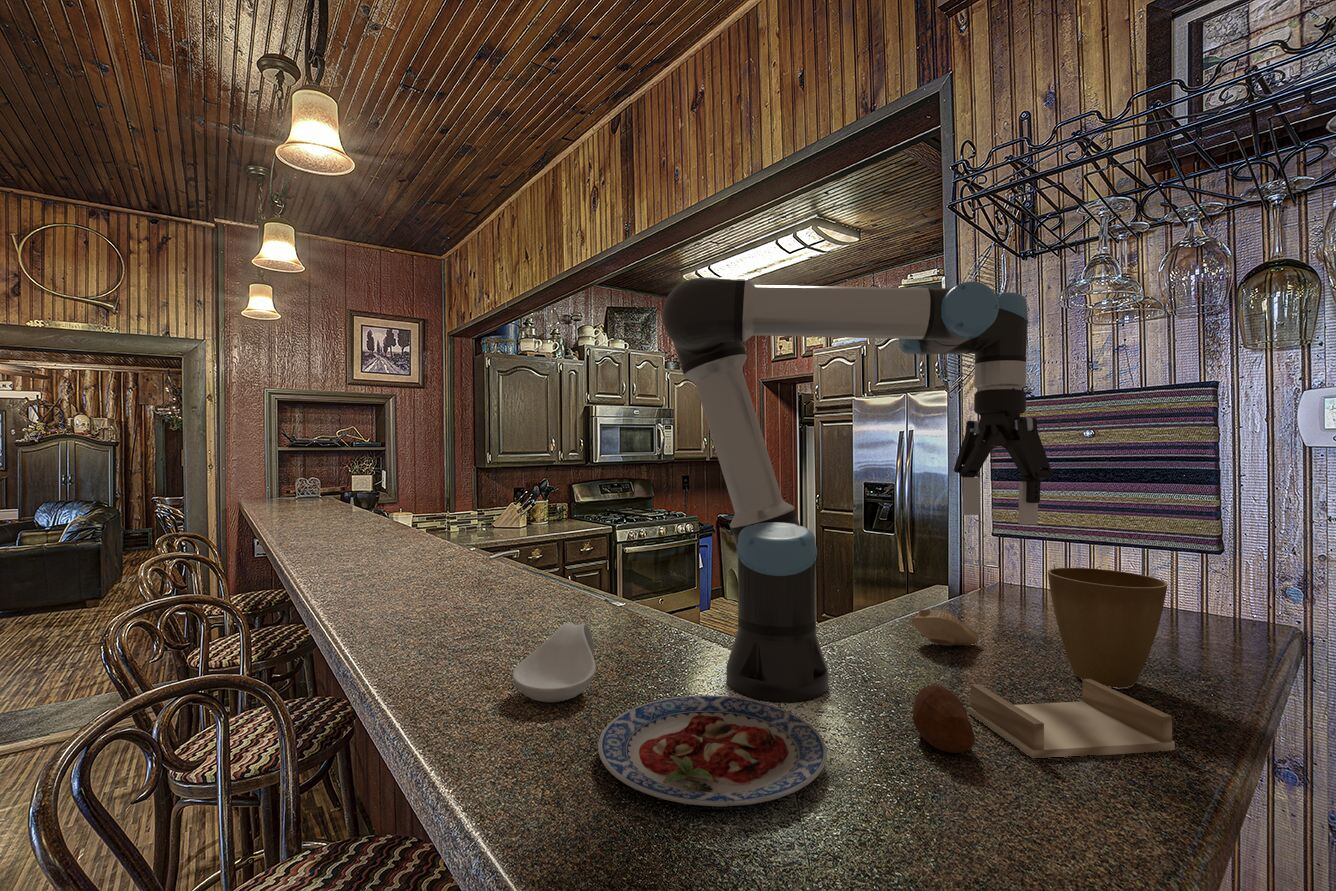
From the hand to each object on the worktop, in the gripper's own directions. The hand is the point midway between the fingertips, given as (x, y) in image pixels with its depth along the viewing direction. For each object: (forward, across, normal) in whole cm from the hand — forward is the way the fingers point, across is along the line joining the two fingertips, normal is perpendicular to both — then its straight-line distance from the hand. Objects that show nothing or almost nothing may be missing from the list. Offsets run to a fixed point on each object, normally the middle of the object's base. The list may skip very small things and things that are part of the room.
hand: (997, 519), depth 102 cm
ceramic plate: (+25, -22, +53) cm, 63 cm away
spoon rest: (+26, +4, +70) cm, 74 cm away
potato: (+24, -24, +25) cm, 42 cm away
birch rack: (+24, -23, +8) cm, 34 cm away
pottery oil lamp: (+24, +10, +2) cm, 26 cm away
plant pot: (+24, -9, -12) cm, 28 cm away
